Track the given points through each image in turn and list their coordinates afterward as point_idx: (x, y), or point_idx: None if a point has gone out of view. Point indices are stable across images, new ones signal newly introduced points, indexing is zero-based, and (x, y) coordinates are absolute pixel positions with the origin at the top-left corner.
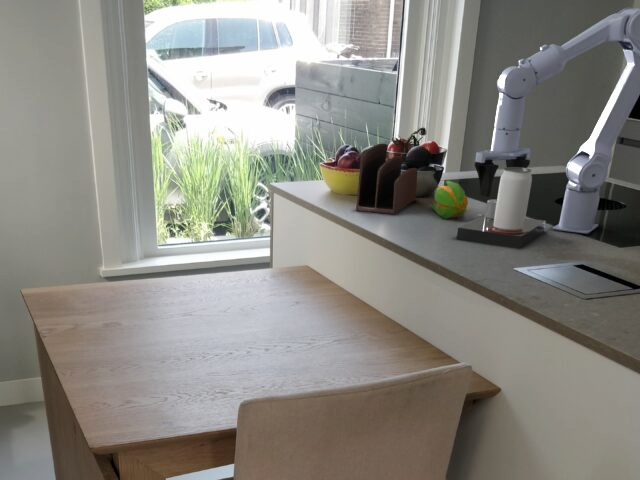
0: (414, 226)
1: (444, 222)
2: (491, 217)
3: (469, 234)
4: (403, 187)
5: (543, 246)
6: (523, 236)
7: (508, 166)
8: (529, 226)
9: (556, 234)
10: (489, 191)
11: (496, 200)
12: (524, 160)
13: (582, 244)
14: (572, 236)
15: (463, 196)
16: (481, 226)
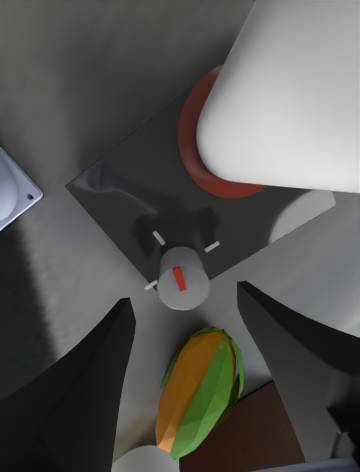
0: (303, 310)
1: (233, 320)
2: (198, 255)
3: None
4: (253, 450)
5: (173, 40)
6: None
7: (109, 438)
8: (156, 140)
9: (58, 152)
10: (250, 288)
11: (186, 287)
12: (12, 459)
13: (39, 3)
14: (22, 113)
15: (211, 365)
16: (279, 192)
